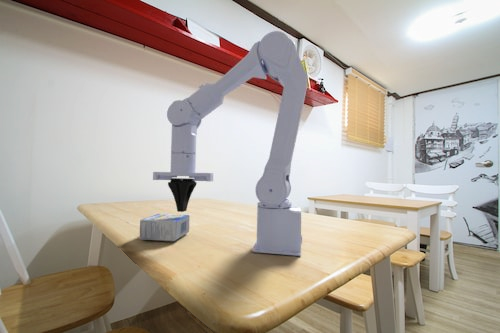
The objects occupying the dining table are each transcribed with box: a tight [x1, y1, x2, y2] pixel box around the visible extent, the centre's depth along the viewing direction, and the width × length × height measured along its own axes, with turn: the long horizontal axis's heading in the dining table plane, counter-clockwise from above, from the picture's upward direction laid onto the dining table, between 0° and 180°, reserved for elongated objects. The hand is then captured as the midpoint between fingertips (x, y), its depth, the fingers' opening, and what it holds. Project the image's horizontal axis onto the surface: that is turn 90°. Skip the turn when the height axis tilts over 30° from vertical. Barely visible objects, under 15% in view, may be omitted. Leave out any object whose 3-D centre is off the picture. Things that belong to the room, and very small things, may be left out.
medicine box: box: [139, 213, 190, 242], centre depth 54 cm, size 8×4×9 cm
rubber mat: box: [155, 233, 188, 243], centre depth 55 cm, size 6×7×1 cm
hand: (181, 211), depth 54 cm, fingers closed
